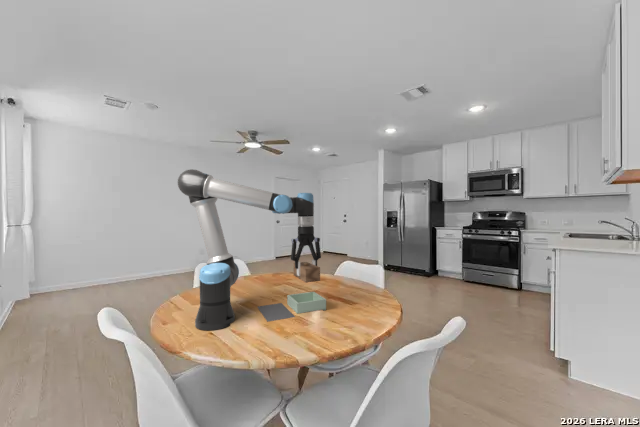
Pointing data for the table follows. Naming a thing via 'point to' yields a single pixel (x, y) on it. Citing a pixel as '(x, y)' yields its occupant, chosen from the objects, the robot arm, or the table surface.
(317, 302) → the dish
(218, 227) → the robot arm
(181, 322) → the table surface
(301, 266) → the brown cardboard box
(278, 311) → the mat
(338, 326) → the table surface
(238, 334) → the table surface
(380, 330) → the table surface
